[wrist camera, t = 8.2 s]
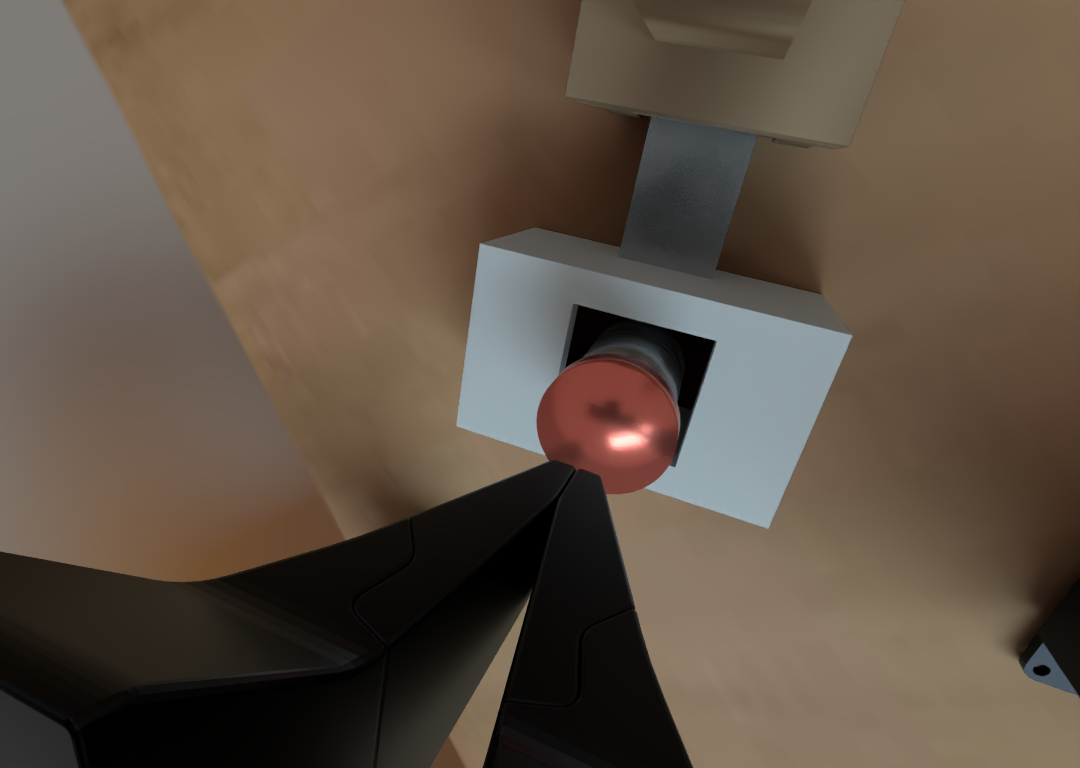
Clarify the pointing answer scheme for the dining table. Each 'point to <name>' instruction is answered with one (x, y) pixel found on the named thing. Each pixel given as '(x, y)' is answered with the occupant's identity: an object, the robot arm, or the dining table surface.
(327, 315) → the dining table surface
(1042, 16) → the dining table surface
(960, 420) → the dining table surface
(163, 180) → the dining table surface
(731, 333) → the button housing
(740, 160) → the rail
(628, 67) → the carriage
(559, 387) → the plunger
